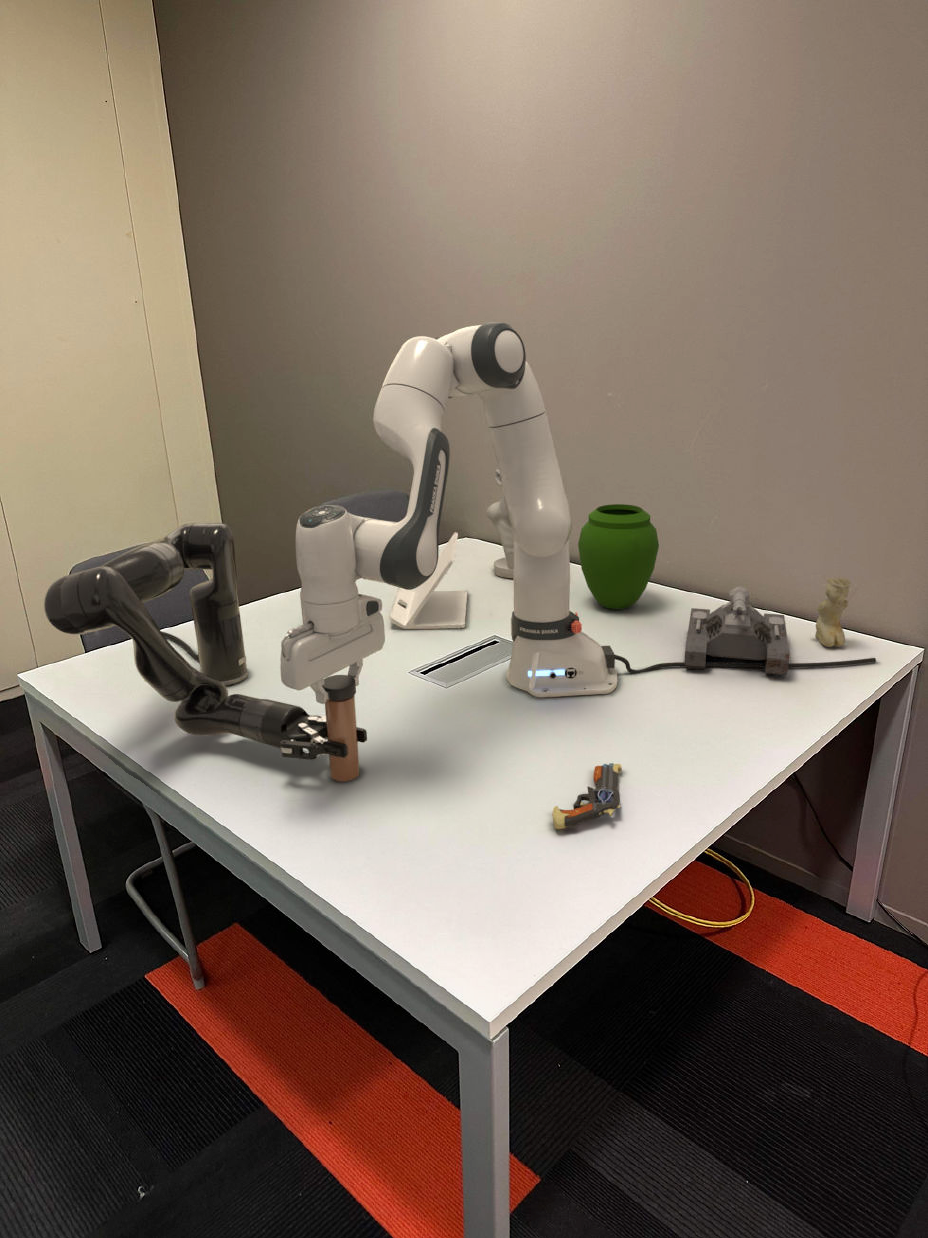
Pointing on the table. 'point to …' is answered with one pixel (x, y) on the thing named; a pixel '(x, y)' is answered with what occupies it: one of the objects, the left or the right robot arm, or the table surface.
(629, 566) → the vase
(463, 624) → the tablet stand
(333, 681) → the lid
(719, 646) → the toy
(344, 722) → the jar
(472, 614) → the table surface
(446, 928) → the table surface
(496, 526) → the bust sculpture
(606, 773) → the toy gun
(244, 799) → the table surface
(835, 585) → the sculpture
